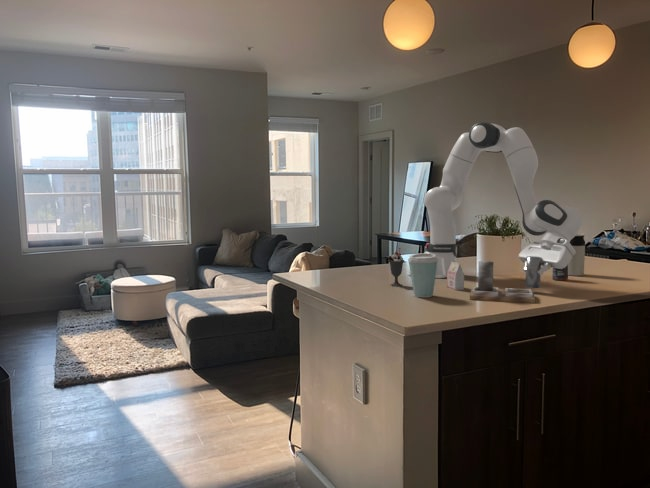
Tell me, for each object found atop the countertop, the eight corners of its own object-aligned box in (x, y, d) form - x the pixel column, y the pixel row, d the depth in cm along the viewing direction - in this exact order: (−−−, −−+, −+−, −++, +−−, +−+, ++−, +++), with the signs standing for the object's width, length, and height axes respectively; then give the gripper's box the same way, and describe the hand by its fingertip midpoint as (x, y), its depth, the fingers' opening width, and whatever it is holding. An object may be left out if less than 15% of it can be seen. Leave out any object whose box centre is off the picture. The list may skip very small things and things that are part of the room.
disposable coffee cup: (431, 300, 181) (432, 257, 179) (402, 297, 187) (403, 255, 185) (442, 294, 190) (442, 253, 188) (414, 292, 196) (414, 252, 194)
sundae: (406, 284, 212) (406, 247, 210) (402, 287, 205) (403, 249, 204) (389, 283, 214) (390, 247, 212) (386, 286, 207) (386, 248, 206)
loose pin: (525, 287, 191) (526, 257, 189) (525, 285, 195) (526, 256, 194) (540, 288, 189) (541, 258, 188) (539, 285, 194) (540, 256, 193)
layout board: (469, 299, 181) (470, 263, 180) (471, 293, 193) (472, 259, 191) (534, 303, 175) (536, 266, 173) (532, 296, 186) (533, 261, 185)
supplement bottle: (564, 278, 220) (565, 252, 219) (570, 281, 214) (571, 253, 213) (550, 278, 221) (551, 251, 220) (554, 281, 215) (555, 253, 214)
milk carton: (455, 286, 206) (455, 261, 205) (463, 289, 199) (464, 263, 198) (446, 287, 205) (447, 261, 204) (455, 290, 198) (455, 264, 197)
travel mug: (575, 276, 224) (577, 235, 222) (559, 274, 231) (561, 233, 229) (587, 275, 228) (589, 234, 226) (571, 272, 235) (573, 232, 233)
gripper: (527, 236, 203) (507, 262, 200) (571, 241, 184) (549, 270, 181) (535, 247, 205) (515, 273, 202) (579, 253, 186) (558, 282, 183)
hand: (531, 272), depth 191 cm, fingers closed on loose pin, 5 cm apart
